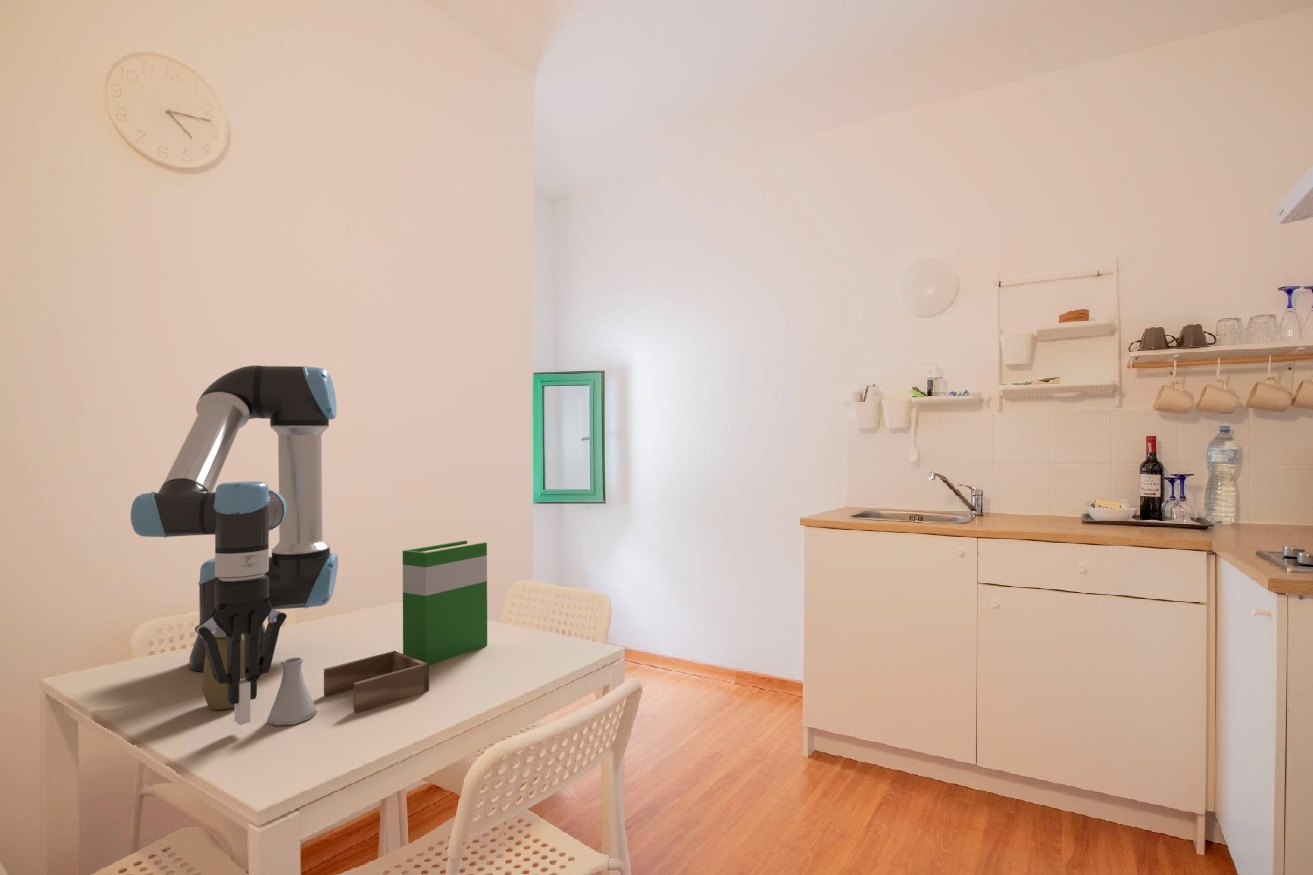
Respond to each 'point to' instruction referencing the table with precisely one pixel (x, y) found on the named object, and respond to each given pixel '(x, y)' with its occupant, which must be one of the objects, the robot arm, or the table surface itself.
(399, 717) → the table surface
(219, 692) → the squeeze bottle
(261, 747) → the table surface
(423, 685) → the box
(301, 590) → the robot arm
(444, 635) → the hardback book
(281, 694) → the flask
